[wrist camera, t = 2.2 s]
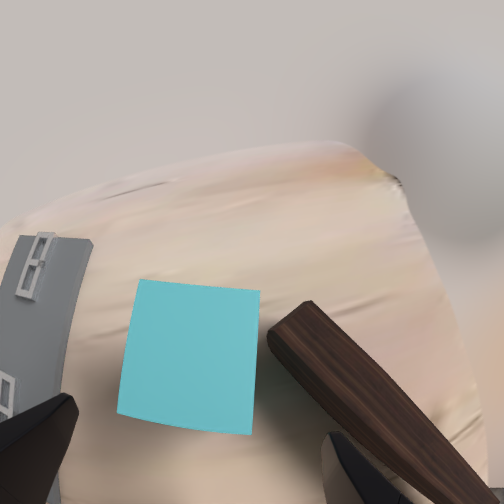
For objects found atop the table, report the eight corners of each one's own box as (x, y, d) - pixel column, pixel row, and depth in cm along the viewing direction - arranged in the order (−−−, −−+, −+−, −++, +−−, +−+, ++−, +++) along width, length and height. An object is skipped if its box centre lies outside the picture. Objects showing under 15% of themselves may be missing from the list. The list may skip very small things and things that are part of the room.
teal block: (242, 413, 16) (251, 434, 6) (182, 407, 16) (116, 413, 6) (246, 351, 18) (260, 290, 9) (189, 345, 18) (139, 279, 9)
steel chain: (20, 476, 9) (15, 477, 8) (3, 464, 9) (-3, 464, 8) (58, 237, 21) (54, 232, 20) (42, 236, 21) (38, 231, 20)
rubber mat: (61, 504, 9) (54, 506, 9) (-13, 455, 9) (-19, 455, 8) (93, 245, 22) (89, 239, 21) (24, 240, 21) (19, 235, 21)
